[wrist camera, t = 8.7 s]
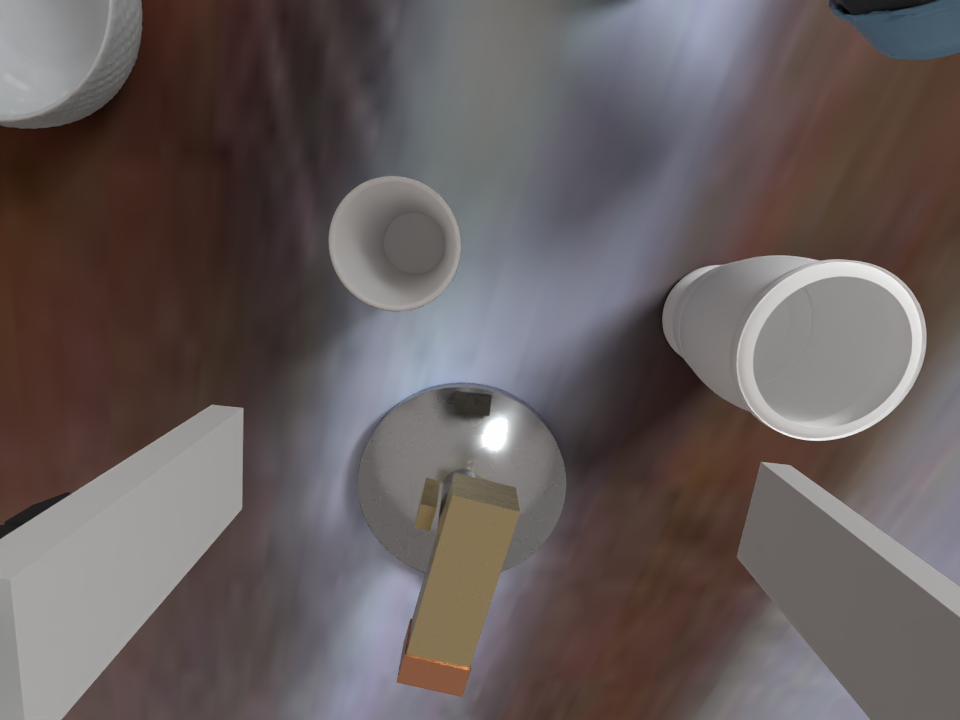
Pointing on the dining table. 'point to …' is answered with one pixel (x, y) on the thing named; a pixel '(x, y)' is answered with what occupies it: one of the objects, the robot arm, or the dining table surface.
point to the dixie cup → (394, 243)
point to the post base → (459, 466)
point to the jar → (800, 340)
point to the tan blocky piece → (457, 580)
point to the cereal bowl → (64, 58)
